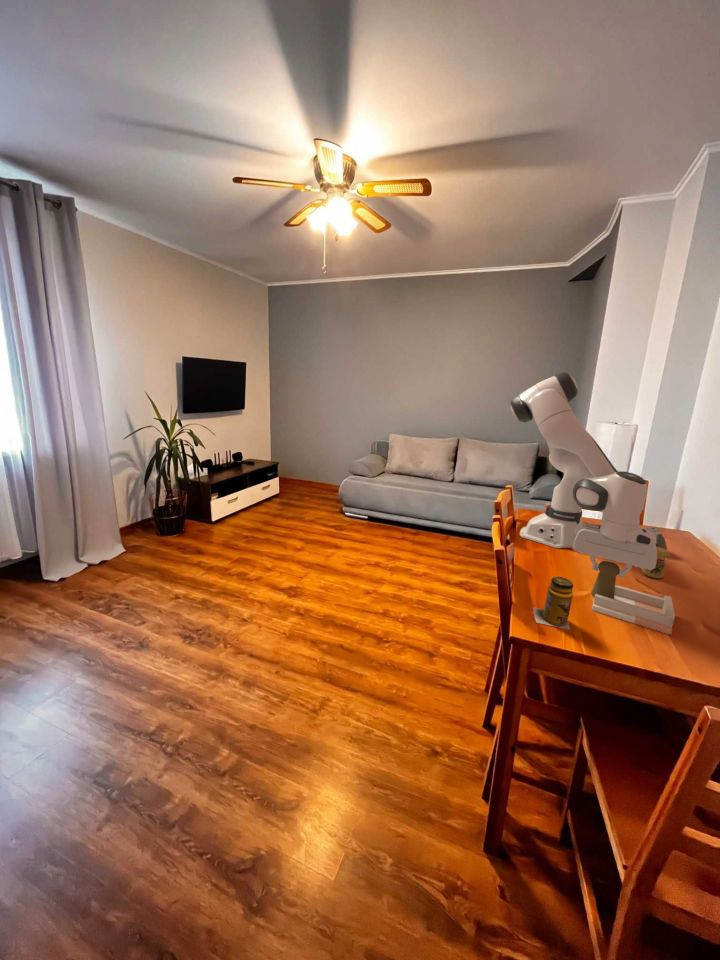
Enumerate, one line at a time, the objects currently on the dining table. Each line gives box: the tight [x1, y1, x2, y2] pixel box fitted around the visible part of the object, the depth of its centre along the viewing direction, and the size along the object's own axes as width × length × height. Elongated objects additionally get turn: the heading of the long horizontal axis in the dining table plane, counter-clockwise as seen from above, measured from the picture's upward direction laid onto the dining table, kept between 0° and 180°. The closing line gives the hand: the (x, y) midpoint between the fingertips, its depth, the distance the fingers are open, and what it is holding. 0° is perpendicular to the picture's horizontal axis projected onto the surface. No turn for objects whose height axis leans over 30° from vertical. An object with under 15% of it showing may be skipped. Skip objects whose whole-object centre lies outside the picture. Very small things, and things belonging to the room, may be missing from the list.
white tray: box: [591, 584, 676, 636], centre depth 110 cm, size 18×14×5 cm
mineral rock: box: [645, 526, 668, 551], centre depth 152 cm, size 13×11×10 cm
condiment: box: [532, 576, 574, 630], centre depth 103 cm, size 7×8×12 cm
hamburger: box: [640, 542, 671, 579], centre depth 131 cm, size 8×7×12 cm
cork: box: [590, 560, 621, 599], centre depth 112 cm, size 6×6×11 cm
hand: (607, 572), depth 112 cm, fingers closed on cork, 5 cm apart
